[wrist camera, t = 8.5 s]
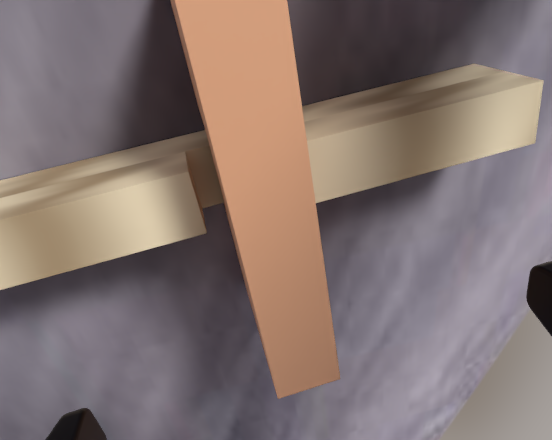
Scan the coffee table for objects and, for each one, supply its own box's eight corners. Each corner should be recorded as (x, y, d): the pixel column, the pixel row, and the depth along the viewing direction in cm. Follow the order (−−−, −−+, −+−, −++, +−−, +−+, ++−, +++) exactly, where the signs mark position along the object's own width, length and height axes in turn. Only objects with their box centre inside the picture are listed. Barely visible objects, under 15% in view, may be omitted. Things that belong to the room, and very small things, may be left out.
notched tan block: (290, 271, 22) (340, 378, 16) (245, 284, 22) (277, 399, 16) (229, -49, 15) (276, -73, 9) (160, -36, 15) (161, -52, 9)
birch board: (473, 63, 19) (543, 80, 16) (471, 116, 20) (534, 143, 17) (-51, 192, 16) (-106, 247, 13) (-18, 244, 18) (-61, 306, 14)
